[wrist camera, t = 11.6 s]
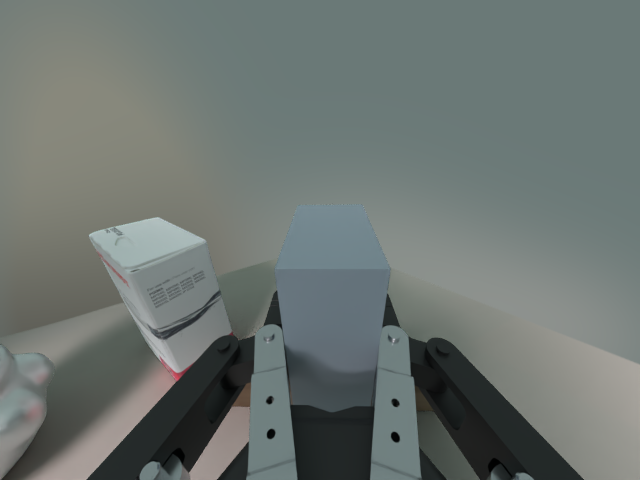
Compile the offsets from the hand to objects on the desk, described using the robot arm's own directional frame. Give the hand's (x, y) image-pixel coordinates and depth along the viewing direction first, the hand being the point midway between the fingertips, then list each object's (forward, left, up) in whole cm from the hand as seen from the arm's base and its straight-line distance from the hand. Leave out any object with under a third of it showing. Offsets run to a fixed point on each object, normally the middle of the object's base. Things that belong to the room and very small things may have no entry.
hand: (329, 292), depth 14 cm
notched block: (0, -1, -7) cm, 7 cm away
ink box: (-13, +3, -9) cm, 16 cm away
